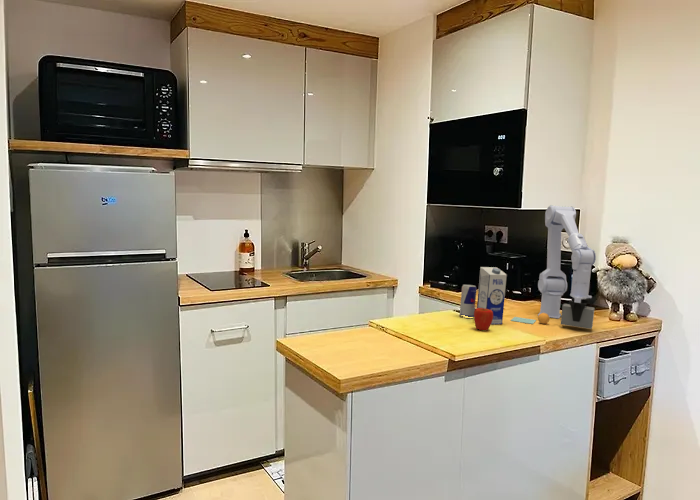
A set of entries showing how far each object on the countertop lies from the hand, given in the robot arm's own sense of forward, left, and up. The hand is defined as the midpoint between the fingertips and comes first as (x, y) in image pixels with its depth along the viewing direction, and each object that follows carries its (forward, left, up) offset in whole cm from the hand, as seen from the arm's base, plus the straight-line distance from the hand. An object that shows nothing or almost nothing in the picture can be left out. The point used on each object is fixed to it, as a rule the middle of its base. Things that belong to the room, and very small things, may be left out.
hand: (576, 319), depth 188 cm
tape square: (0, -18, -3) cm, 19 cm away
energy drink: (+10, -37, -3) cm, 39 cm away
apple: (+27, -27, -3) cm, 39 cm away
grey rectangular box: (0, 0, -2) cm, 2 cm away
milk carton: (+13, -28, -3) cm, 31 cm away
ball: (0, -11, -1) cm, 11 cm away
